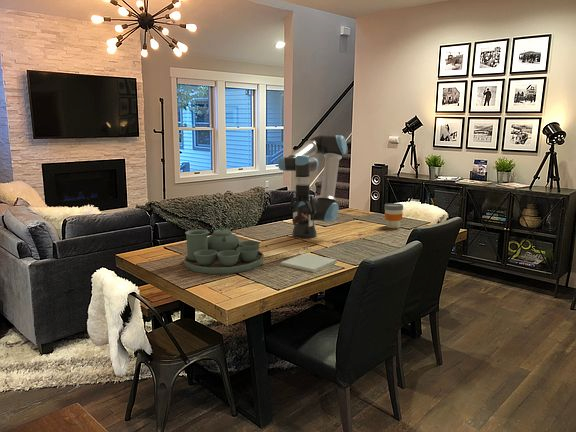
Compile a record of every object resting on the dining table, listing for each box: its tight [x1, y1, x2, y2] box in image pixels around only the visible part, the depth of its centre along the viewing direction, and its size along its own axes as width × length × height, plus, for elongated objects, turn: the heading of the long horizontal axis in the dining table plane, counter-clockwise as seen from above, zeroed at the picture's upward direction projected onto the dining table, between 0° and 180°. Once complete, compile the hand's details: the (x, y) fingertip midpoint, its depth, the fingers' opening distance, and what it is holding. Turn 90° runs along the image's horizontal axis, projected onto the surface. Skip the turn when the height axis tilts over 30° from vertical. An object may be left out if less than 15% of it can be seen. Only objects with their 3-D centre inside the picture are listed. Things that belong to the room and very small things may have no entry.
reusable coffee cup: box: [383, 202, 404, 229], centre depth 313 cm, size 13×13×15 cm
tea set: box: [183, 227, 265, 275], centre depth 234 cm, size 40×40×16 cm
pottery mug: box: [291, 213, 310, 228], centre depth 253 cm, size 12×10×8 cm
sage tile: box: [280, 253, 338, 273], centre depth 231 cm, size 20×20×2 cm
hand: (303, 224), depth 253 cm, fingers closed on pottery mug, 10 cm apart
